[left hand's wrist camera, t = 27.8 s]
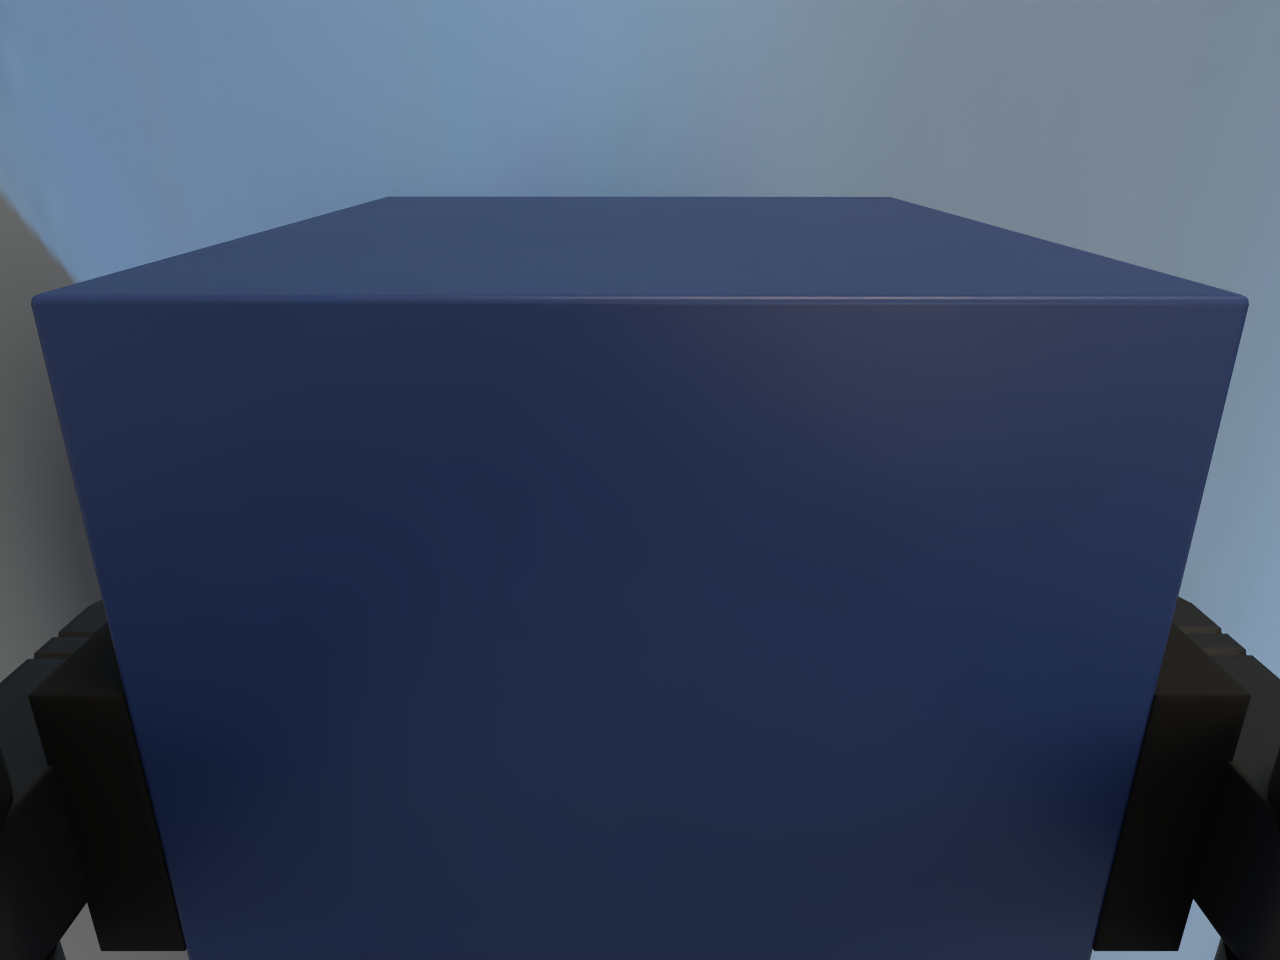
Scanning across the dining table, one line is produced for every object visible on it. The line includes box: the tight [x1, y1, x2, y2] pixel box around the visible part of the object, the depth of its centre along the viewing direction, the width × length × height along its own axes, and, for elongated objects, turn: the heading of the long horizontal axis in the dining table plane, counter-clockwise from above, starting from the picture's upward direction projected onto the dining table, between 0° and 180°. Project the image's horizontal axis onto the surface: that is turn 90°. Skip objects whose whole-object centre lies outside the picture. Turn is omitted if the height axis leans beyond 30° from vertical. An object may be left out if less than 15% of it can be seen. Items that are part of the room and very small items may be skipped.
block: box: [31, 197, 1249, 960], centre depth 12 cm, size 9×8×9 cm
